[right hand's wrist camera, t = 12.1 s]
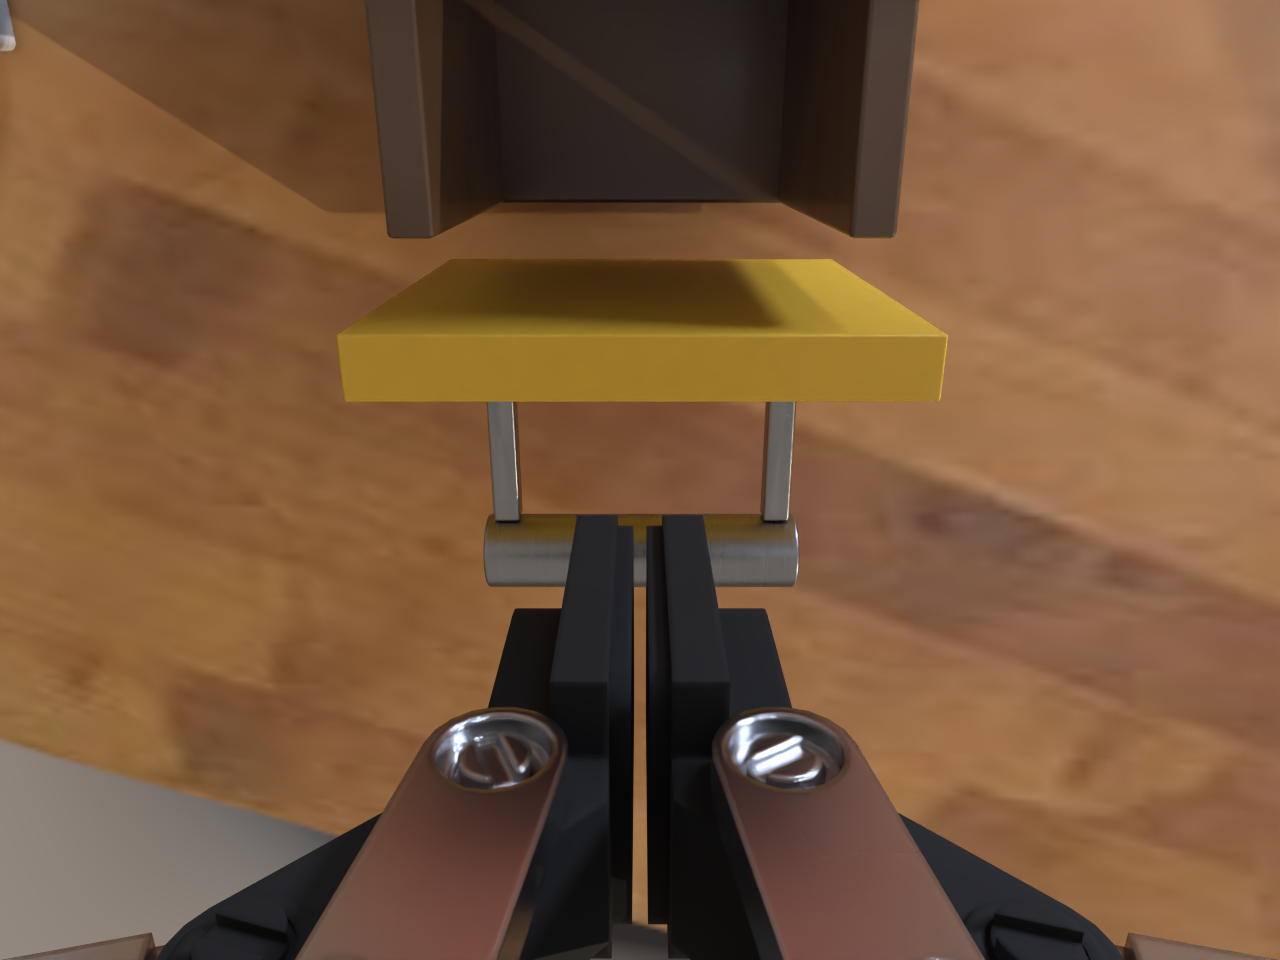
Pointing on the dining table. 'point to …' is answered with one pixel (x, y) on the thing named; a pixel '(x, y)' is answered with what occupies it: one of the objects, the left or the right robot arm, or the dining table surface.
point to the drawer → (641, 173)
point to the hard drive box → (6, 28)
